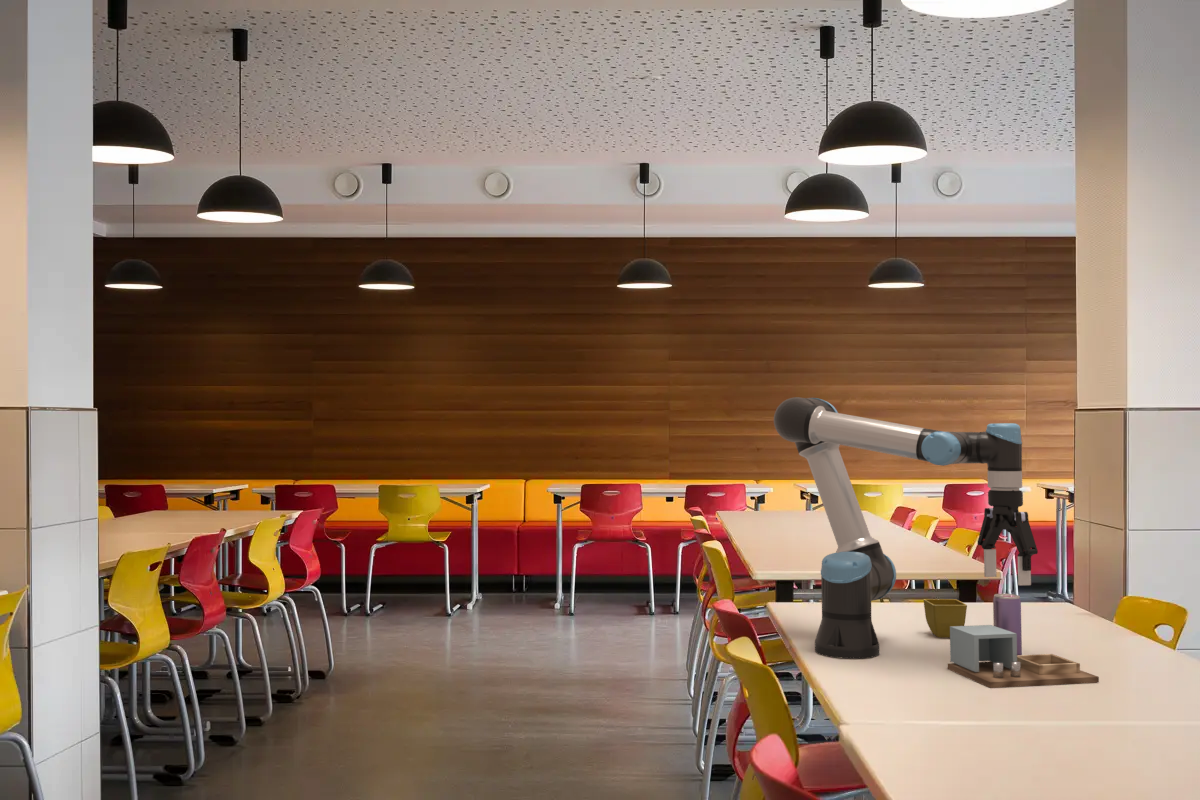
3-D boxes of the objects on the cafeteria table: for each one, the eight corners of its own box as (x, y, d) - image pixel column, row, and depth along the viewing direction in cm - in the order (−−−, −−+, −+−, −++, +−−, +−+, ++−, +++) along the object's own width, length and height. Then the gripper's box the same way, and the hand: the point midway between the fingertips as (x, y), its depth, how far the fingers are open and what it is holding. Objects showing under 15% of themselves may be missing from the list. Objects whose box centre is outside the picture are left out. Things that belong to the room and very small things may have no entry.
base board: (990, 688, 203) (990, 672, 204) (947, 668, 220) (947, 654, 220) (1098, 682, 208) (1098, 667, 208) (1048, 664, 224) (1048, 650, 225)
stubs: (996, 678, 206) (996, 664, 207) (991, 676, 208) (991, 662, 208) (1022, 677, 207) (1022, 662, 208) (1017, 675, 209) (1016, 660, 210)
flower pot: (968, 640, 251) (967, 604, 252) (933, 640, 251) (933, 604, 252) (956, 633, 260) (956, 598, 260) (923, 633, 260) (922, 598, 261)
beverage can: (1024, 664, 225) (1023, 598, 225) (996, 662, 226) (995, 597, 226) (1018, 658, 230) (1017, 593, 231) (991, 657, 232) (990, 593, 232)
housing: (974, 671, 211) (974, 635, 211) (950, 661, 221) (949, 626, 221) (1017, 669, 213) (1016, 633, 213) (991, 659, 223) (990, 624, 223)
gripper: (1053, 491, 218) (1055, 588, 217) (989, 486, 243) (991, 573, 242) (1022, 492, 217) (1024, 589, 216) (961, 486, 241) (963, 573, 240)
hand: (1007, 580), depth 229 cm, fingers open, 13 cm apart
